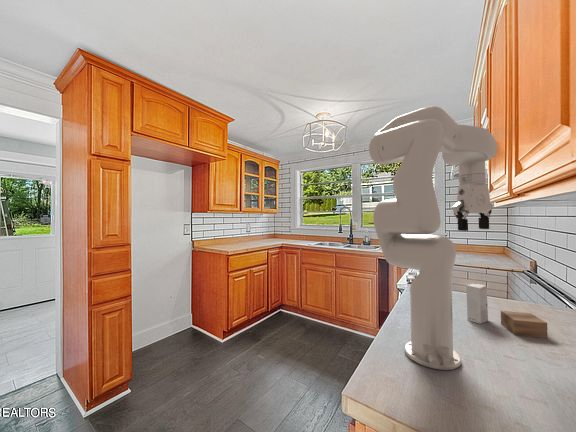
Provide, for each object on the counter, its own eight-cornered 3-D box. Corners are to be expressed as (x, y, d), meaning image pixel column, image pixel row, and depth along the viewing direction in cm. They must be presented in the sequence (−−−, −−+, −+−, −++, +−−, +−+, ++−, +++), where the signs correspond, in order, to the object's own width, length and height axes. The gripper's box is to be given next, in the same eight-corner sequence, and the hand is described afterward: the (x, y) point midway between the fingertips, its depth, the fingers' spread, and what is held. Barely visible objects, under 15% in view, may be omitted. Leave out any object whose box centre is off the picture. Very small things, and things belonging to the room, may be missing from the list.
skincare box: (481, 324, 84) (480, 288, 84) (466, 320, 88) (465, 285, 88) (488, 320, 88) (488, 285, 88) (473, 316, 92) (473, 282, 92)
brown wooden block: (547, 338, 74) (547, 322, 74) (514, 334, 77) (514, 320, 77) (530, 326, 82) (530, 313, 82) (501, 324, 84) (500, 310, 84)
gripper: (463, 179, 81) (464, 231, 82) (501, 179, 86) (503, 228, 86) (443, 182, 89) (444, 230, 89) (479, 181, 93) (481, 227, 94)
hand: (473, 229), depth 88 cm, fingers open, 9 cm apart
